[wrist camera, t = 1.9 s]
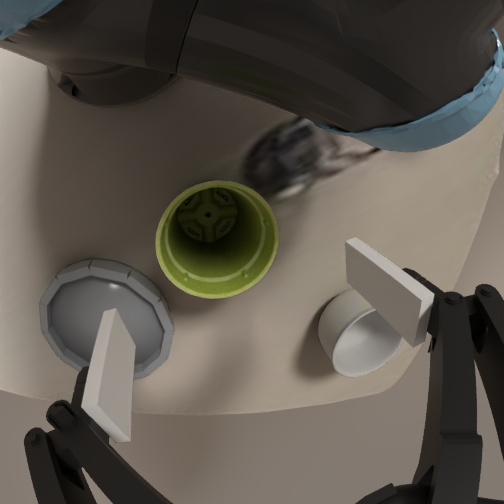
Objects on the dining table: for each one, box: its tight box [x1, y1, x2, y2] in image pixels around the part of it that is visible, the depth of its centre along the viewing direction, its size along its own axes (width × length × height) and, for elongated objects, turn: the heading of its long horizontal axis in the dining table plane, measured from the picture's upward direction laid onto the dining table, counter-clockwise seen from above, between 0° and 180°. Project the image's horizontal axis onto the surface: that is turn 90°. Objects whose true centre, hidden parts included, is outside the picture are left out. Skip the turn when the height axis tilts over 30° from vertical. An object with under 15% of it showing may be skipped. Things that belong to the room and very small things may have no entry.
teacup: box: [318, 289, 404, 377], centre depth 37 cm, size 14×11×8 cm
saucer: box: [39, 259, 174, 379], centre depth 31 cm, size 16×16×2 cm
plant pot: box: [155, 180, 279, 299], centre depth 26 cm, size 9×9×9 cm
